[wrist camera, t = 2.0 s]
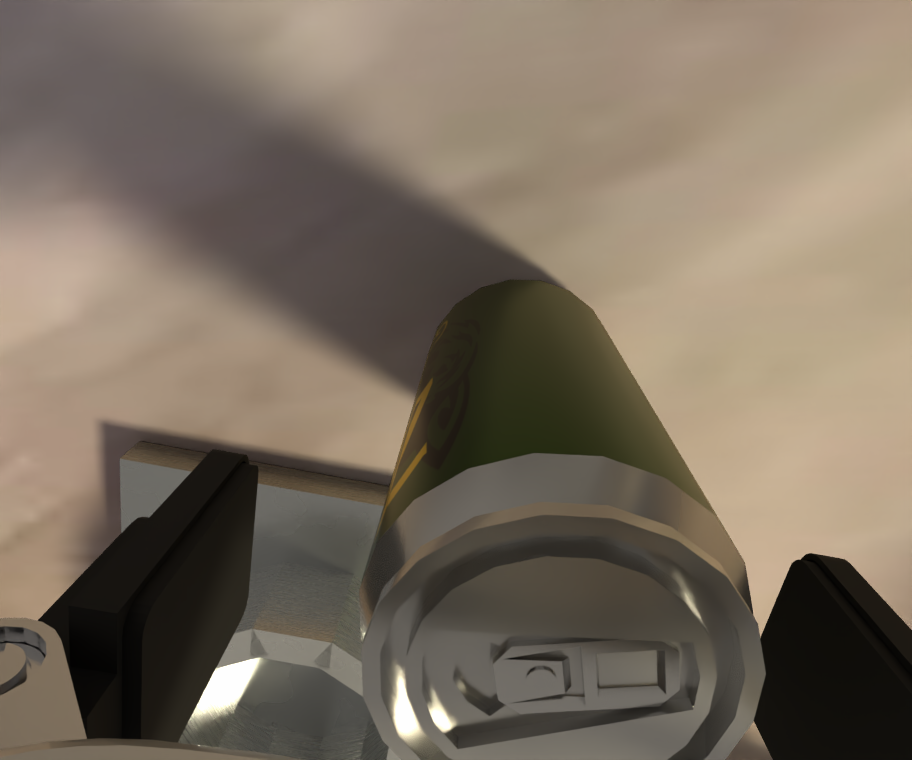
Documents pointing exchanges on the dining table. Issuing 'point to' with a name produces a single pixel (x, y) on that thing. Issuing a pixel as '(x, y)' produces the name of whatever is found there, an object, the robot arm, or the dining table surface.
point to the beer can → (549, 558)
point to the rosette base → (284, 612)
